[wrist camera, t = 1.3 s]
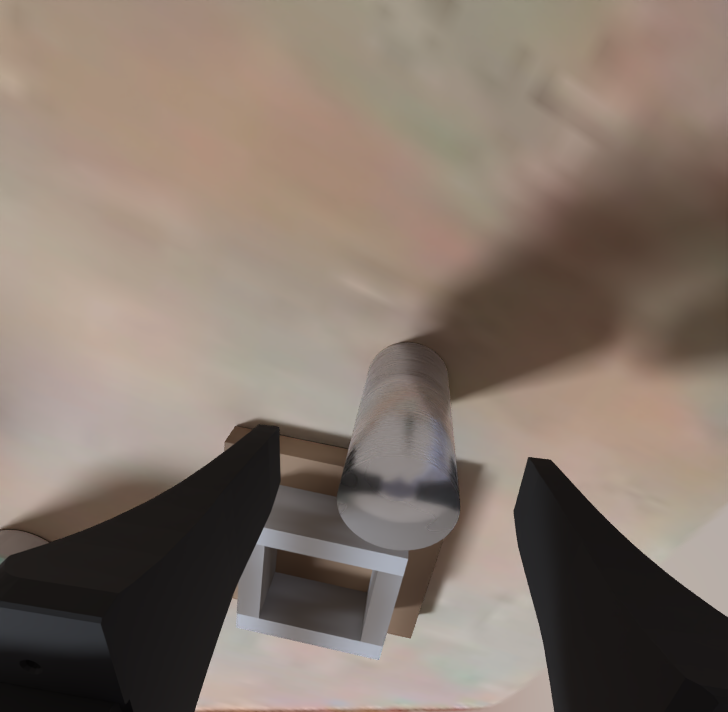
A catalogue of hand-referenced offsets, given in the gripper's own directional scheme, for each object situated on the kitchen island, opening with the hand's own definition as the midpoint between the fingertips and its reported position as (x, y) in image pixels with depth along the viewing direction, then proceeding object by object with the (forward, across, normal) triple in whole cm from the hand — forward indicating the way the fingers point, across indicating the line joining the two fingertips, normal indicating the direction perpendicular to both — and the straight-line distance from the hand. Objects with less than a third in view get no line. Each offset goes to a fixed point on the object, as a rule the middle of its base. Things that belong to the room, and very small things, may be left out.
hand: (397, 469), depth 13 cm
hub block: (+6, +3, +9) cm, 11 cm away
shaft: (+6, 0, 0) cm, 6 cm away
